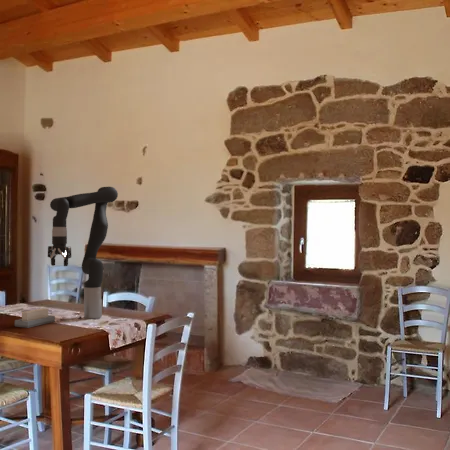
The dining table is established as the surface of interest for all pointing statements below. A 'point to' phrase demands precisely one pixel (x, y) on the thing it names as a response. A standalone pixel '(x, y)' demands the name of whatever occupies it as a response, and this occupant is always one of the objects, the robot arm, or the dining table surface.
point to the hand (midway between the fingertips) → (59, 265)
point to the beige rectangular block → (34, 314)
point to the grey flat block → (34, 322)
